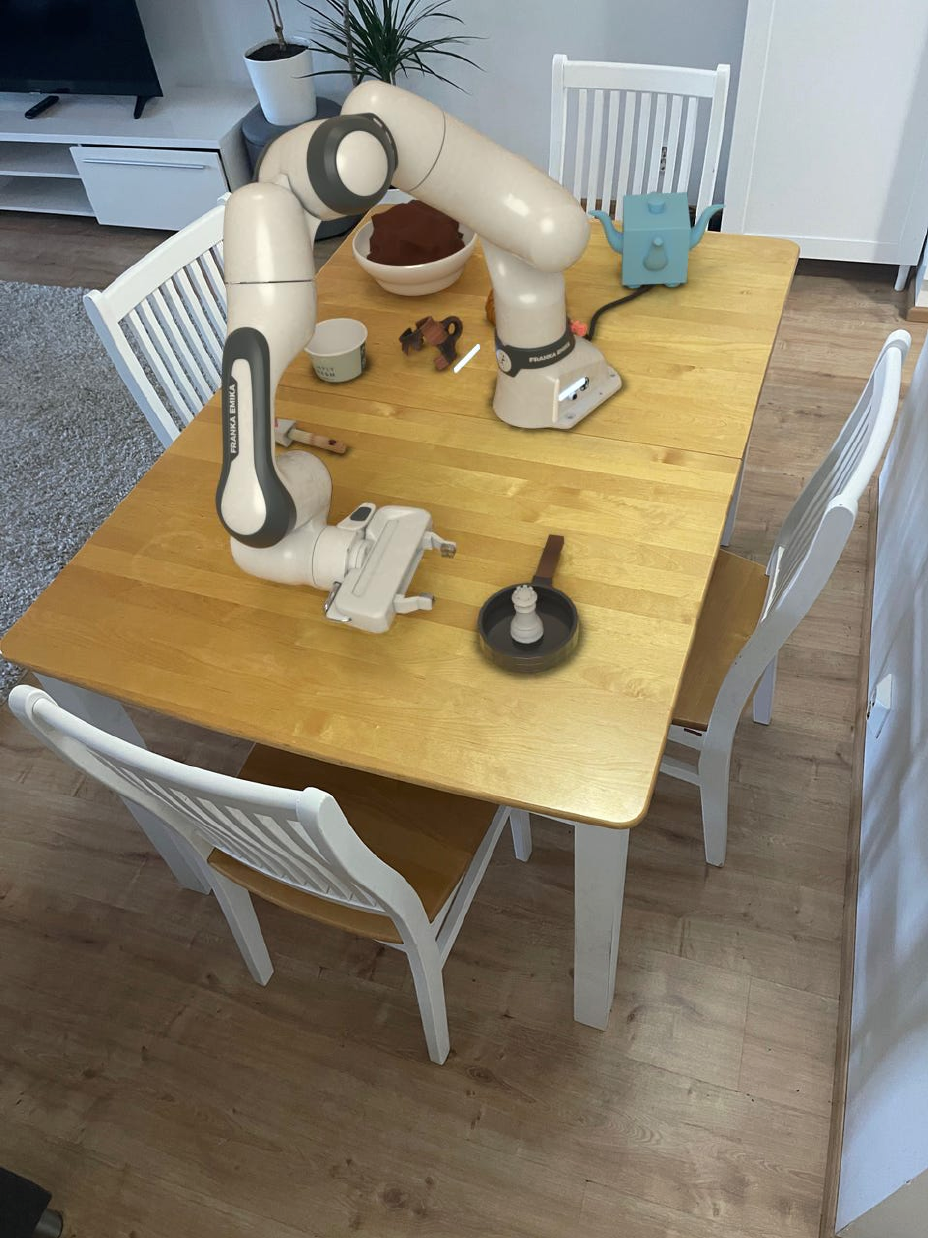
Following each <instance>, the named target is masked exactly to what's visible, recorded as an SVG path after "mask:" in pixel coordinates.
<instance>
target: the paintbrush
mask: <svg viewBox="0 0 928 1238" xmlns="http://www.w3.org/2000/svg"><path fill="white" fill-rule="evenodd" d="M296 423H297V420H296V419H286V418H276V417H275V443H278V444H280V445H282V446H284V447H286V448H288V447H289V446H290V445H291V444H292V442H293V441H296V442H299V443H303V444H307V445H309V446H314V447H317V448H322V449H325V450H328V451H332V452H335V453H339V454H344V453H346V451H347V444H346V442H343V441H340V440H337V439H332V438H330V437H325V436H322V435H319V434H318V435H317V434H315V433H311V432H307V431H304V430H300V429H297V428H296Z"/></svg>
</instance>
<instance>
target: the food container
mask: <svg viewBox="0 0 928 1238" xmlns="http://www.w3.org/2000/svg"><path fill="white" fill-rule="evenodd" d="M368 335H369V333H368V328H367V327H366V325H365V324H363V323H362V322H361V321H359V320H358V319H357V320H356V319H353V318H347V317H338V318H331V319H326V320H323V321H320V322H317V323H316V328H315V333H314V335H313V337H312V339H311V341H310V342H309V344H308V345H307V346H306V347H305V349H304V350H303V351H305V352H306V354H307V356H308V357H309V360H310V362H311V364H312V367H313V369H314V371H315V373H316V375H317V377H318V378H319V379H321V380H323V381H325V382H329V383H342V382H347V381H350V380H353V379H355V378H358V377H359V376H360V375H361V374H362V373H363V372H364V371H365V369H366V367H367V344H366V343H367V338H368Z"/></svg>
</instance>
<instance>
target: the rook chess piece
mask: <svg viewBox="0 0 928 1238" xmlns="http://www.w3.org/2000/svg"><path fill="white" fill-rule="evenodd" d="M536 600H537V594H536V592H535V591H533V588H532V587H531V586H530V587H529V588H527V585H523V588H521V587H520V586H519V587H517V590H516V591H515V592H514V593H513V595H512V601H513V602H514V603H515V604H514V607H515V609H516V616H515V617H514V619H513V620H512V622H511V627H510V628H511V630H510V633H511V635H512V637H513V638H514V639H515V640H516V641H518V642H521V643H526V644H529V643H533V642H535V641H536V640H538V639H539V638H540V637H541V636H542V634H543V630H544V628H543V623H542V621H541V619H540V618H539V617H538V615H537V614H536V612H535V607H536V603H535V601H536Z"/></svg>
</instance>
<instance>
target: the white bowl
mask: <svg viewBox="0 0 928 1238" xmlns="http://www.w3.org/2000/svg"><path fill="white" fill-rule="evenodd" d="M370 218H371V219H370V220H368V221H367V222H366V223H364V224H363V225H362V226H361V227H360V228H359V229H358V230H357V232H356V233H355V235H354V236H353V238H352V243H351V251H352V255H353V257H354V259H355V261H356V262H357V264H358V265H359V266H360V267H361V269H363V270H364V271H365V272H366V273H367V274H368V275H370V276H371V277H372V278H373V279H374V281H375V282H376V283H377V284H378V285H379V286H380V288H382V289H383V290H384V291H386V292H388V293H391V294H395V295H399V296H404V297H405V296H406V297H419V296H427V295H431V294H434V293H438V292H440V291H442V290H445V289H447V288H449V287H451V286H452V285H454V284H455V283H456V282H457V281H458V280H460V278H461V276H462V275H463V273H464V270H465V269H466V265H467V263H468V262H469V261H470V260H471V258H472V256H473V254H474V253H475V251H476V249H477V247H478V244H479V241H480V237H479V235H478V234H476V233H475V232H473V231H471V230H470V229H468V228H467V227H465V226H464V225H462V224H461V223H459V222H457V221H456V220H454V219H453V218H451V217H450V216H448V215H446V214H444V213H443V212H441V211H439V210H437V209H435V208H433V207H431V206H429V205H427V204H426V203H424V202H422V201H420V200H418V199H415V198H414V199H411V200H409V201H408V202H407V203H405V202H401V203H397V204H395V205H393V206H392V207H390V208H388V209H387V210H385V211H383V212H376V213H375V214H373V215H371V216H370Z"/></svg>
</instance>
